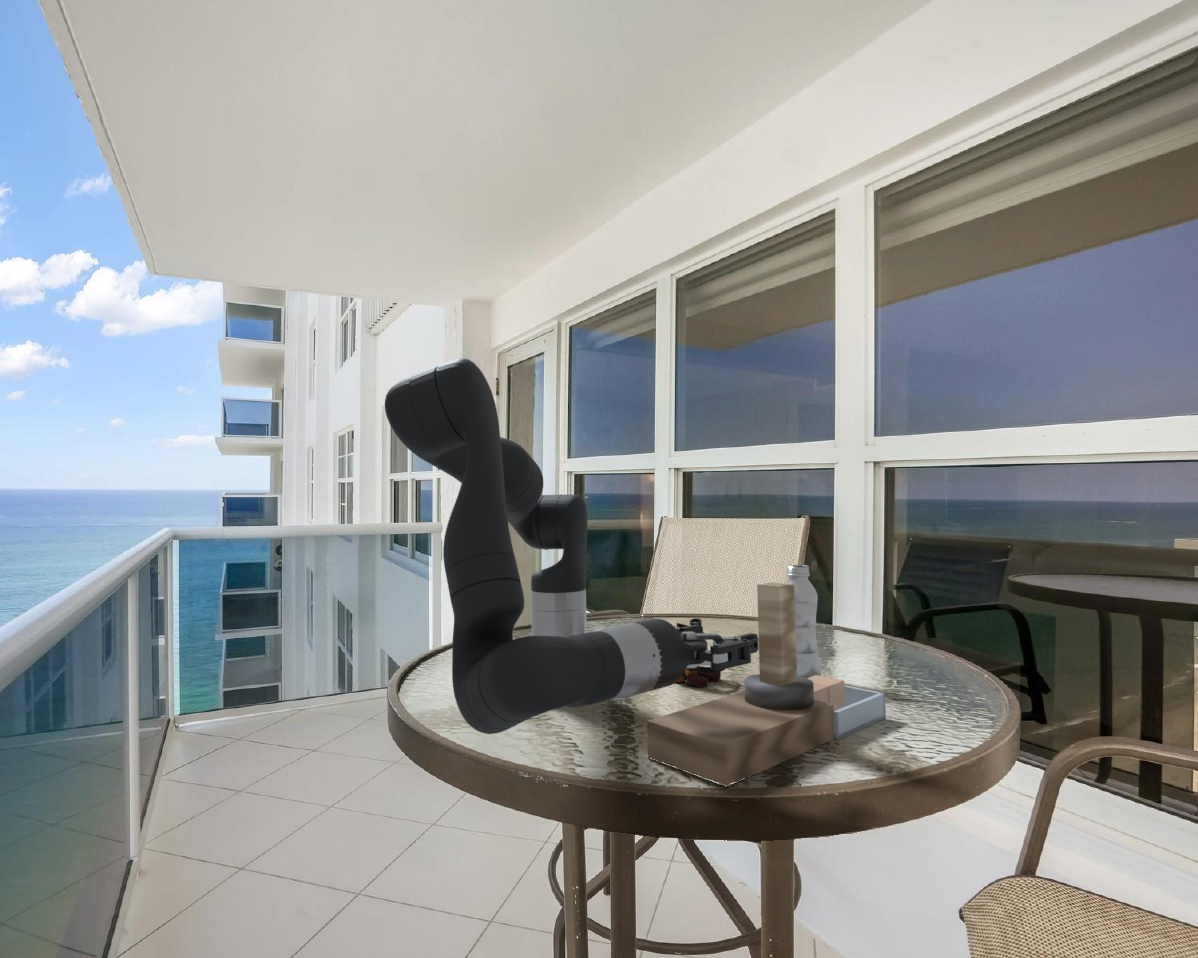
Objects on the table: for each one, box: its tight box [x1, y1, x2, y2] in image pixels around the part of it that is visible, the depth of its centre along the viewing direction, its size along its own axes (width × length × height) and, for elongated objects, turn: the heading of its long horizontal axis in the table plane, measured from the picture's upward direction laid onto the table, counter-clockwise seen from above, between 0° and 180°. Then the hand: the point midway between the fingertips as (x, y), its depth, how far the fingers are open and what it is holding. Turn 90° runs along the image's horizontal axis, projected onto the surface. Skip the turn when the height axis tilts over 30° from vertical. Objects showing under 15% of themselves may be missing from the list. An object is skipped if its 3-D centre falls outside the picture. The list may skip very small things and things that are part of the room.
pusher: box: [743, 582, 814, 710], centre depth 90 cm, size 9×9×16 cm
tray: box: [804, 677, 887, 740], centre depth 96 cm, size 13×13×4 cm
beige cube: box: [807, 675, 845, 712], centre depth 97 cm, size 4×4×4 cm
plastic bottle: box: [785, 564, 822, 678], centre depth 119 cm, size 6×7×20 cm
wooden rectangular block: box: [646, 690, 835, 785], centre depth 84 cm, size 22×12×4 cm, turn 131°
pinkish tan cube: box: [813, 683, 829, 703], centre depth 94 cm, size 4×4×4 cm
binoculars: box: [676, 617, 726, 688], centre depth 118 cm, size 9×11×10 cm
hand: (727, 637), depth 83 cm, fingers open, 8 cm apart
